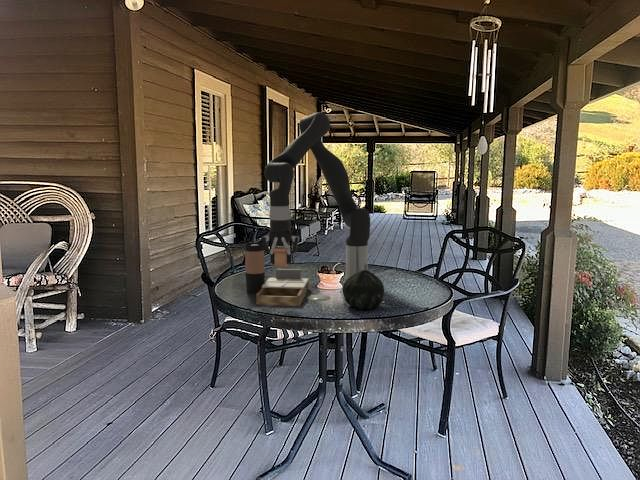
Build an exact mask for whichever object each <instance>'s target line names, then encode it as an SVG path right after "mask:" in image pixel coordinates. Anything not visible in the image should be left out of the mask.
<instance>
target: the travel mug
mask: <svg viewBox="0 0 640 480" xmlns="http://www.w3.org/2000/svg"><path fill="white" fill-rule="evenodd" d="M244 260H245V267H244V269H245V270H244V271H245V288H246V293H249V294H257V293H258V292H259V291H260V290H261V289H262V285H263V284H264V283H265V282H266V281H265V279H266V276H265V274H266V273H265V271H266V270H265V249H264V245H263V242H247V243H245V244H244Z"/></svg>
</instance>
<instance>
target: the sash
mask: <svg viewBox="0 0 640 480" xmlns="http://www.w3.org/2000/svg"><path fill="white" fill-rule="evenodd" d="M308 280H309V278H302V269H301V268H300V269H298V268H296V269H295V268H276V269H275V277H268V279H267V280H266V281H265V283H264V284H263V285H262V288H295V289H303V288H304V287H305V285H306V283H307V282H308ZM305 288H306V287H305Z"/></svg>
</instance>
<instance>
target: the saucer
mask: <svg viewBox="0 0 640 480" xmlns="http://www.w3.org/2000/svg"><path fill="white" fill-rule="evenodd" d="M306 299H307V300H309V301H313V302H323V301H324V302H325V301H328V300H331V296H329V295H325V294H312V295H309V296H306Z"/></svg>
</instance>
